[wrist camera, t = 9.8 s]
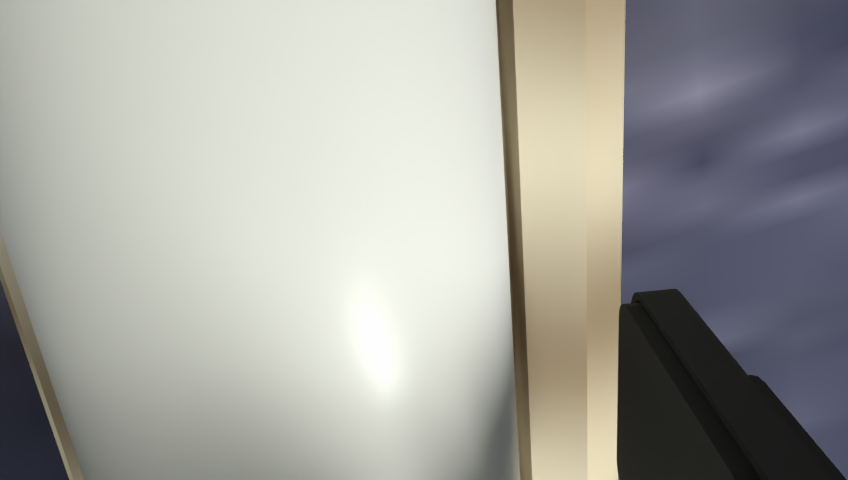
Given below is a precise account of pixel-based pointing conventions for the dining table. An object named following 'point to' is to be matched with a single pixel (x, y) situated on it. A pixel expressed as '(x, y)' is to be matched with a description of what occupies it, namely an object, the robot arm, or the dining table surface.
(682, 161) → the dining table surface
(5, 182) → the roll
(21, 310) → the holder
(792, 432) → the robot arm
